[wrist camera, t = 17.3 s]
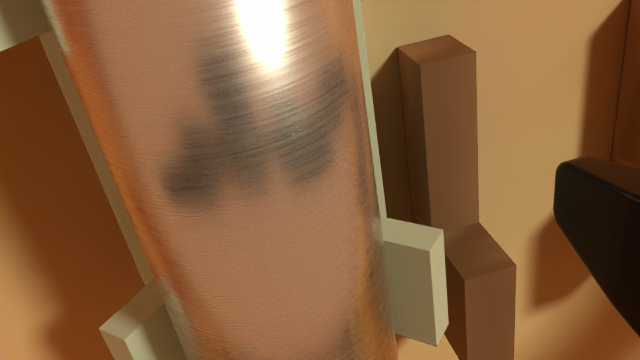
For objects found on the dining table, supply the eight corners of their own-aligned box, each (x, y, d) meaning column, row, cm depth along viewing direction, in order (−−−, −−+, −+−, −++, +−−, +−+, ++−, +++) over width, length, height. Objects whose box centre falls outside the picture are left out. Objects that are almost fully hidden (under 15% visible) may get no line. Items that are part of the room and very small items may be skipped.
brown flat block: (678, -22, 16) (799, 8, 13) (637, 227, 20) (720, 292, 17) (397, 47, 15) (457, 96, 12) (419, 293, 19) (467, 373, 16)
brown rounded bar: (-55, -317, 8) (-209, -467, 4) (254, -357, 9) (353, -517, 5) (215, 383, 16) (244, 546, 12) (367, 330, 17) (438, 468, 13)
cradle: (342, -237, 11) (429, -277, 8) (396, 238, 18) (458, 340, 14) (-61, -165, 10) (-179, -173, 7) (146, 309, 17) (143, 439, 13)
